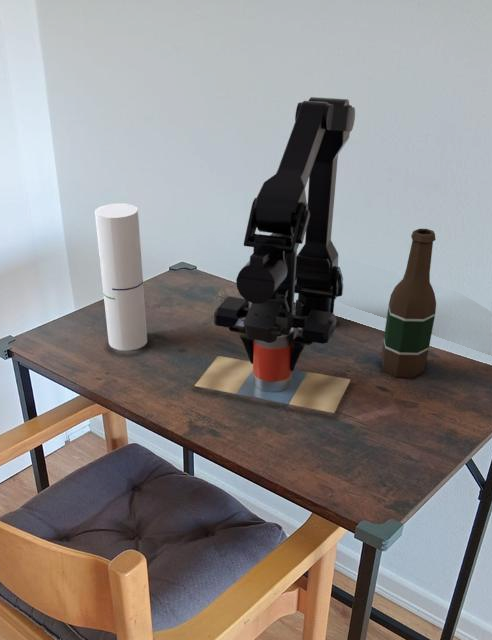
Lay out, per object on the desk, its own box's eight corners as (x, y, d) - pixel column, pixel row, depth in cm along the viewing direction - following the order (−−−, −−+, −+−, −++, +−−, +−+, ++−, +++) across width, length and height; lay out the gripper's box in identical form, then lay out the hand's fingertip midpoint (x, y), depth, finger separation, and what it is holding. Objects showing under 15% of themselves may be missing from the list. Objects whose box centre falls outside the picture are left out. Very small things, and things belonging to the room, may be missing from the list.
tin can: (280, 369, 130) (283, 315, 123) (298, 387, 125) (302, 331, 119) (246, 377, 128) (247, 322, 121) (263, 395, 123) (265, 339, 117)
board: (350, 384, 127) (350, 379, 126) (333, 418, 119) (334, 412, 118) (218, 360, 135) (218, 355, 134) (194, 390, 127) (194, 385, 126)
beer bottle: (373, 372, 130) (392, 235, 115) (386, 353, 135) (406, 219, 120) (418, 382, 127) (443, 243, 112) (430, 362, 132) (455, 226, 117)
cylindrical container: (142, 356, 136) (131, 218, 121) (104, 353, 138) (89, 216, 122) (151, 338, 142) (142, 204, 126) (115, 335, 143) (102, 202, 128)
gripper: (200, 288, 112) (201, 379, 121) (322, 307, 106) (313, 401, 116) (226, 261, 120) (226, 348, 130) (341, 277, 114) (332, 367, 124)
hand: (272, 366), depth 124 cm, fingers closed on tin can, 6 cm apart
